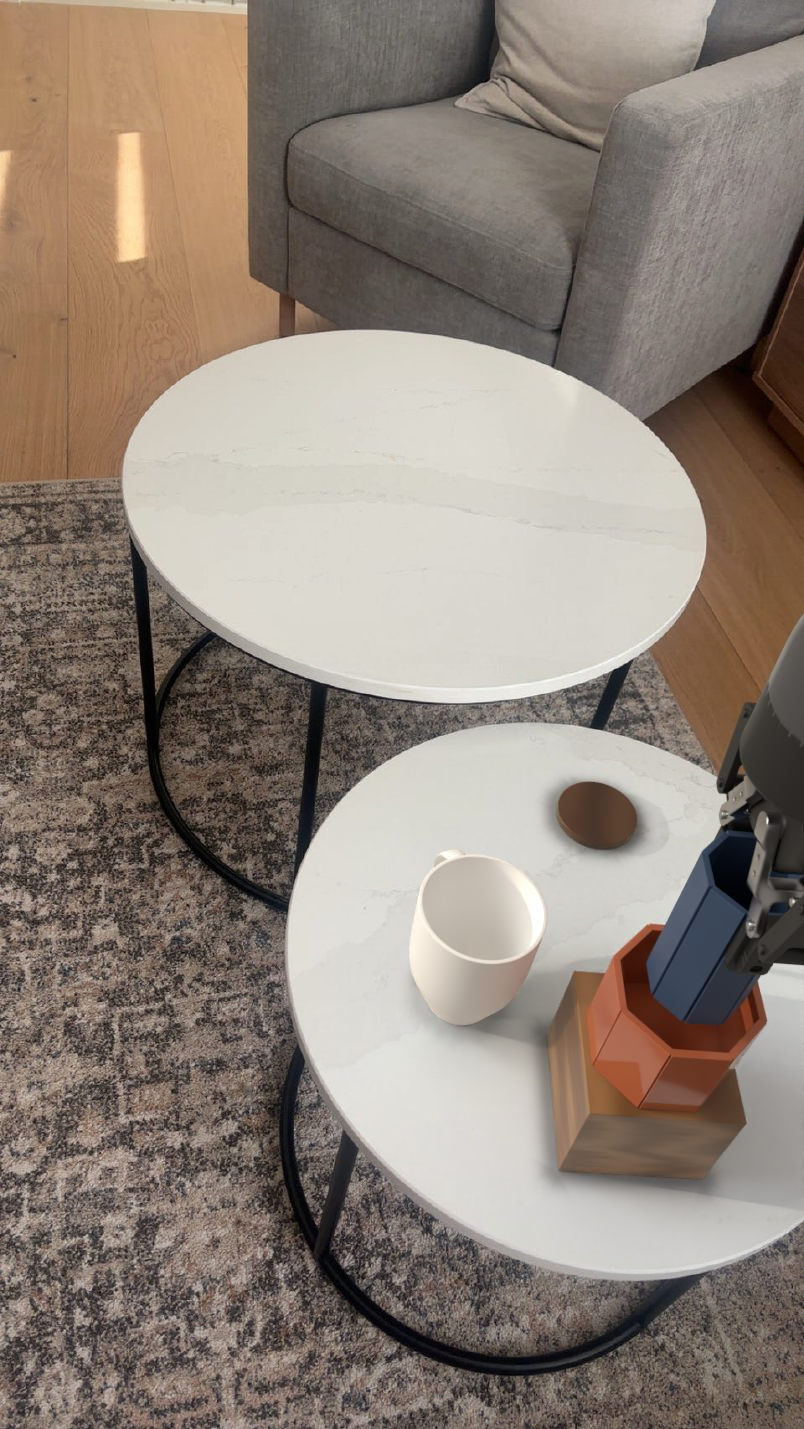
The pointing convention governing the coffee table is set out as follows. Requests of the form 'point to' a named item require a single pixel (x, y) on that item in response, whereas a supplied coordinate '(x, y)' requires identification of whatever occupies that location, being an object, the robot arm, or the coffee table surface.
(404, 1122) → the coffee table surface
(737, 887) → the slate cup
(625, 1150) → the riser
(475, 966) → the mug
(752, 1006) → the terracotta cup
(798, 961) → the robot arm
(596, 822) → the coaster
